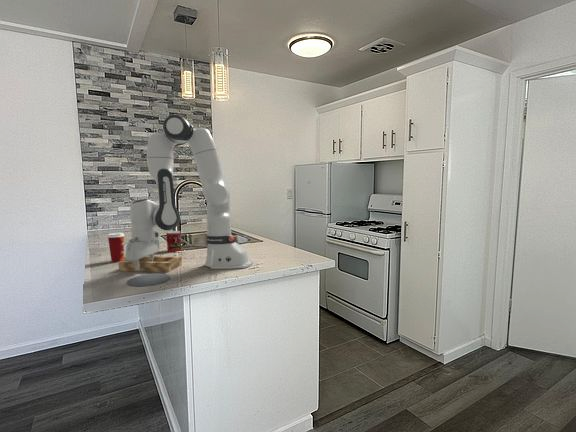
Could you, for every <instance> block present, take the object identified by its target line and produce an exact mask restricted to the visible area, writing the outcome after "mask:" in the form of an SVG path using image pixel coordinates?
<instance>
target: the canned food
mask: <svg viewBox="0 0 576 432" xmlns="http://www.w3.org/2000/svg"><path fill="white" fill-rule="evenodd" d="M166 248H167V252H170V253H175V251H177V252H180V250H181V251H182V236H181V230H168V231H166Z"/></svg>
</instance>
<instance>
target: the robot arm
mask: <svg viewBox="0 0 576 432" xmlns="http://www.w3.org/2000/svg"><path fill="white" fill-rule="evenodd" d="M162 129H163V131H162V132H154V133H151V134H150V135H149V136H148V139H147V146H146V165H147V169H148V173H149V175H150V176H151V177H152V178H153V180H154V181H155V183H156V186H157V193H158V203H157V202H154V201H153V200H151V199H149V198H142V199H141V198H140V199H137V200H134V201H132V202H131V204H130V209H129V210H130V211H129V213H130V214H129V217H130V219H129V220H130V222H131V229H130V231H131V235H130V236H131V238H130V239H128V242H127V244H126V247H125V259H126V260H127V261H133V264H134V265H135V269H136V270H139V269H141V265H139V259H141V258H144V257H146V256H149V260H148V261H152V262H153V259H154V256H155V254H156V253H159V251H160V248H161V245H160V238H159V237H160V235H161V234H160V232H159V231H155V230H154V227H156V226H157V227H158V228H159V229H161V230H163V231H173V230H174V229H176V227H178V226H179V224H180V221H181V214H180V212H179V211H178V208H177V206H176V201H175V188H174V148H175V147H176V148H177V147H179V146H183V145H185V144H187V145H188V146H189V148H190V150H191V153H192V157H193V159H194V163H195V166H196V170H197V173H198V176H199V181H200V184H201V188H202V193H203V197H204V200H205V201H206V238H205V240H206V248H207V249H206V257H205V262H204V265H205V267H208V268H210V269H211V270H226V269H227V270H229V269H231V270H232V269H246V268H249V267H250V266H252V265H253V263H254V260H253V259H252V258H249V254H248V253H249V252H248V251H247V249H246V248H244V247H243V246H242V245H240V244H239V243H238V242H236V238H237V235H233V234H232V222H231V221H232V220H231V216H232V215H231V191H230V188H229V186H228V184H227V179H226V176H225V172H224V168H223V165H222V161H221V159H220V155H219V152H218V148H217V145H216V143H215V140H214V138H213V136H212V133H211V132H210V130H209V129H208V128H205V127H197V128H195V127H194V126H193V125H192V124H191V122H189V120H187V119H186V118H185V117H184V116H182V115H180V114H170V115H168V116H167V117H166V118H165V119H164V121H163V126H162Z"/></svg>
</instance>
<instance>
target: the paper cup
mask: <svg viewBox="0 0 576 432" xmlns="http://www.w3.org/2000/svg"><path fill="white" fill-rule="evenodd" d="M107 239H108V240H107V241H108V246H109V254H110V260H111V261H110V262H111V263H118V262H120V261H122V260H125V234H124V232H112V233H108V234H107Z"/></svg>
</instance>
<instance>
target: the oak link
mask: <svg viewBox="0 0 576 432" xmlns="http://www.w3.org/2000/svg"><path fill="white" fill-rule="evenodd" d="M148 260H149V256H146V257H144V258H141V259H139V265H141V269H139V270H136V269H135V265H134V264H133V261H127V260H126V258H124V260H122V261H120V262H117V263H118V271H121V272H122V271H123V272H130V271H131V272H157V273H158V272H159V273H170V272H171V271H173V270H175V269H177V268H179V267H182V265H183V263H182V262H183V261H182V256H166V255H165V256H160V255H159V256H158V255H156V256H155V255H154V259H153V262H152V261H148Z"/></svg>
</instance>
